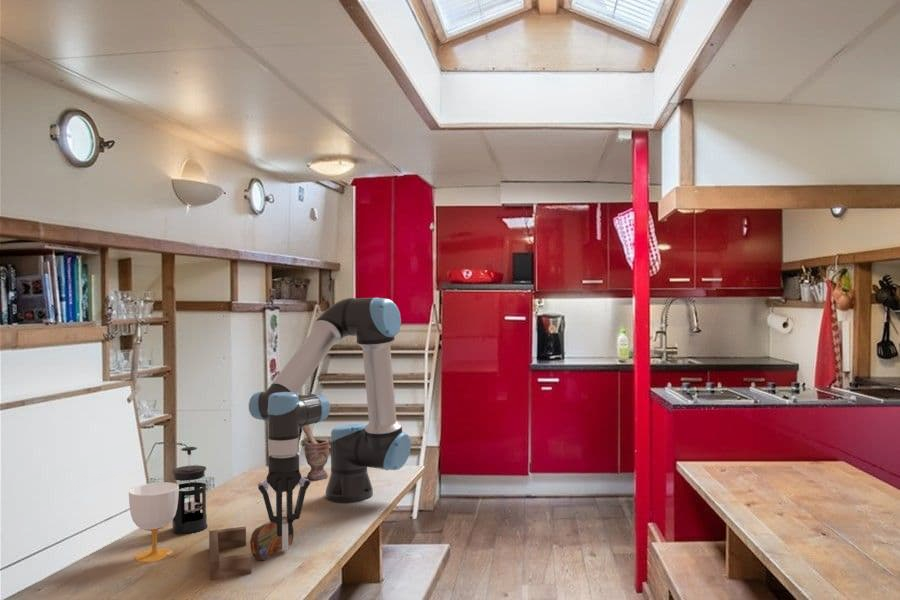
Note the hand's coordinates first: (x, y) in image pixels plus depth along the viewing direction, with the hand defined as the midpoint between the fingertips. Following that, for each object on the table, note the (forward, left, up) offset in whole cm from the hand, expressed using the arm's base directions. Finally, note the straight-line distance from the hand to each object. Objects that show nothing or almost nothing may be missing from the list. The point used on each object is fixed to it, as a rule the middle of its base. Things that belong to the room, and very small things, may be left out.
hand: (284, 548), depth 168 cm
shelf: (+13, 0, -2) cm, 13 cm away
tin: (+2, -1, -2) cm, 3 cm away
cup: (+31, -12, -2) cm, 33 cm away
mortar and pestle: (-18, -72, -2) cm, 74 cm away
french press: (+23, -30, -2) cm, 38 cm away
